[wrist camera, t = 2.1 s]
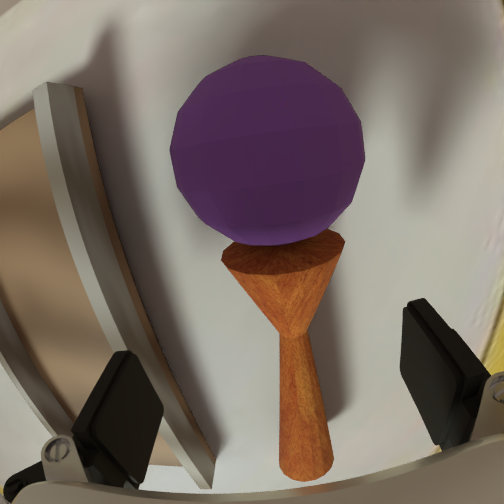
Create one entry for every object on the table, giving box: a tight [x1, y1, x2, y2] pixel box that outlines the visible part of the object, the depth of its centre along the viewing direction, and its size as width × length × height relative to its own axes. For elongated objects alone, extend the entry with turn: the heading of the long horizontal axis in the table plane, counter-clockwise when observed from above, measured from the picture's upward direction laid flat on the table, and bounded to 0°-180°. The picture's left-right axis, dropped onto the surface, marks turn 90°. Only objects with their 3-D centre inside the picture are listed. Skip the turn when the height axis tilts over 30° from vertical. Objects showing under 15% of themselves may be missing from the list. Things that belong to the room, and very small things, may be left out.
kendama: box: [170, 55, 365, 482], centre depth 12 cm, size 6×6×20 cm
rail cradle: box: [0, 82, 216, 489], centre depth 14 cm, size 24×11×3 cm, turn 12°
